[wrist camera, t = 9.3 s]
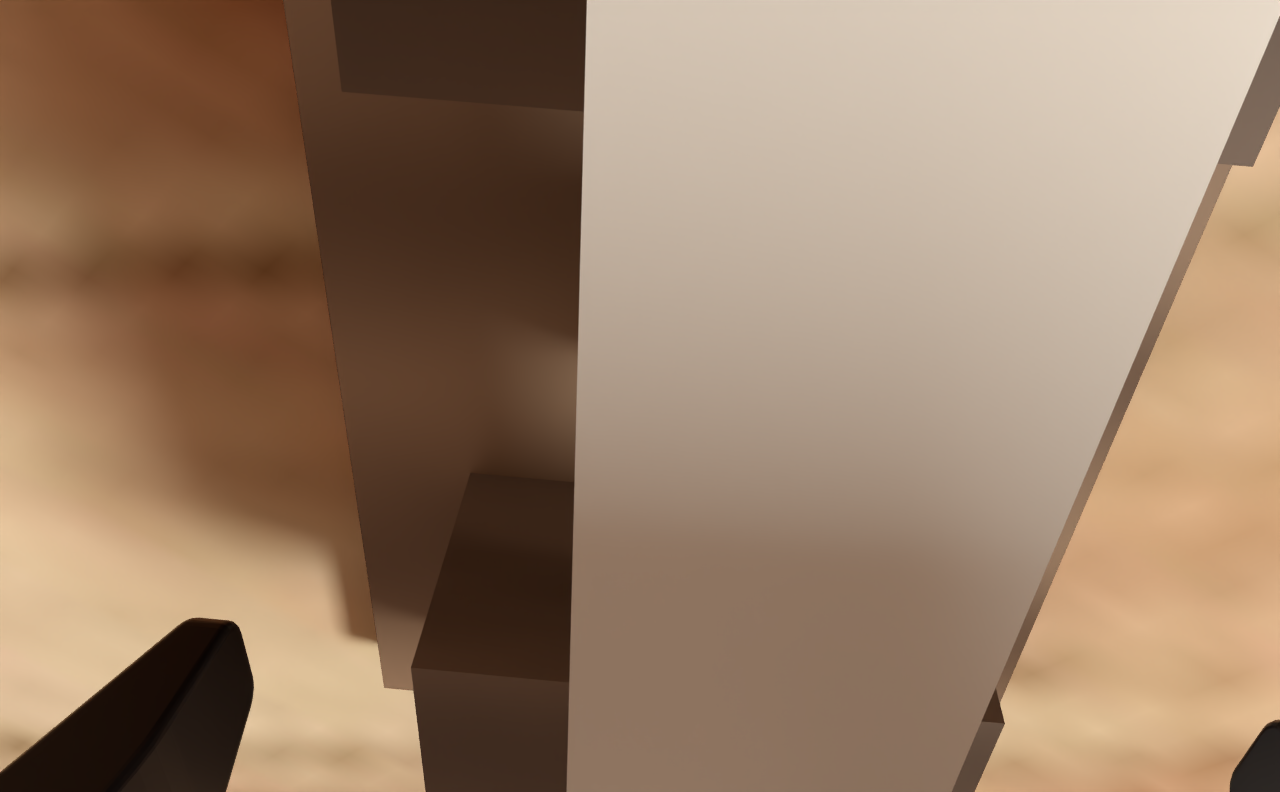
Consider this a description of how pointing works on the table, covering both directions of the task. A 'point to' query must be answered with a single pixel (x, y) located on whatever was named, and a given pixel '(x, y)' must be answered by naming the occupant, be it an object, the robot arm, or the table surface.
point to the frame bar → (856, 357)
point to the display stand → (502, 353)
